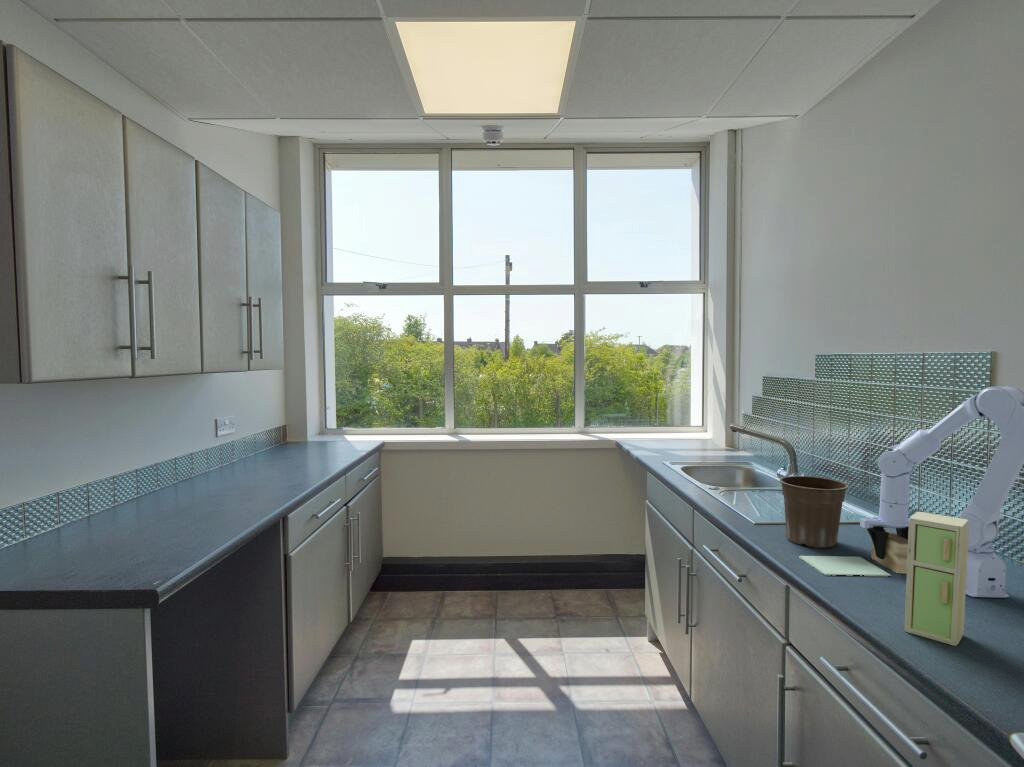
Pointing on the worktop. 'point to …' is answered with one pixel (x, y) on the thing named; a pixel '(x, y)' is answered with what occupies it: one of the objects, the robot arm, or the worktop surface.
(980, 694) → the worktop surface
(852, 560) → the rubber mat
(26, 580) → the worktop surface
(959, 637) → the toy refrigerator
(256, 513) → the worktop surface
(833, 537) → the plant pot
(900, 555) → the oak slab
